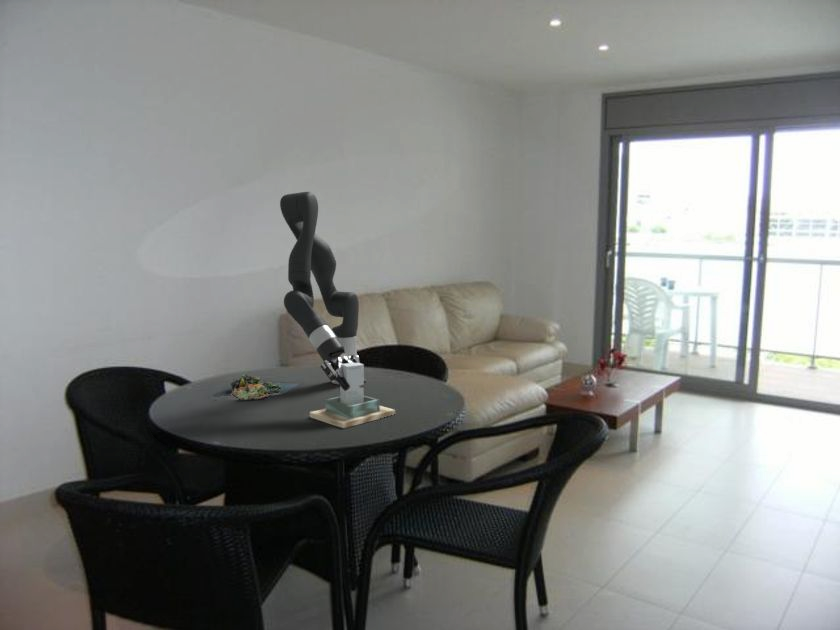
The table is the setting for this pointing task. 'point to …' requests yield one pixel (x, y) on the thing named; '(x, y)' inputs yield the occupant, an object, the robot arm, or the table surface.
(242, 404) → the table surface
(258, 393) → the plated dish
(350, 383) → the skincare box
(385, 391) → the table surface
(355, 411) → the socket board
